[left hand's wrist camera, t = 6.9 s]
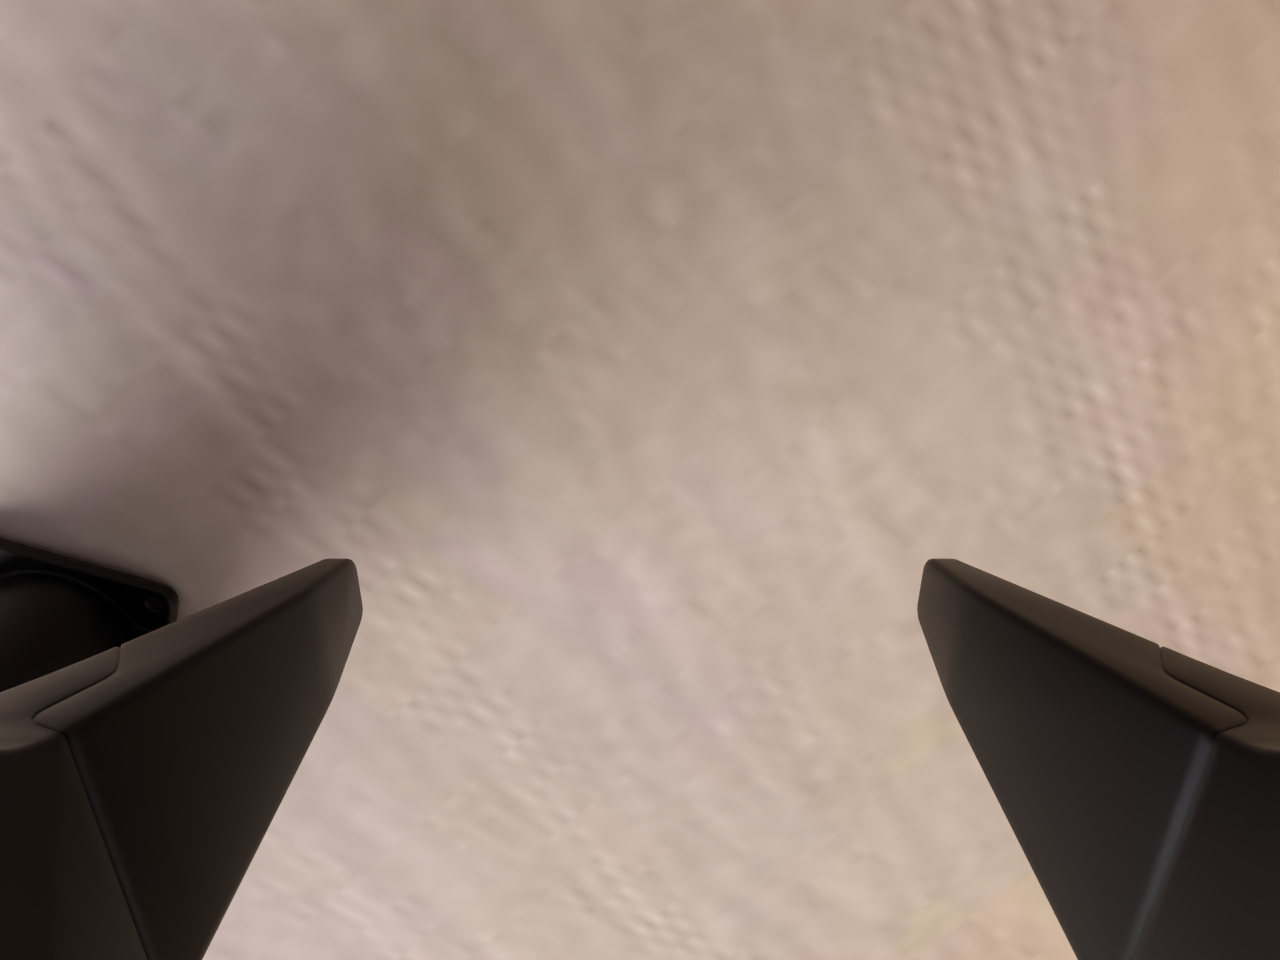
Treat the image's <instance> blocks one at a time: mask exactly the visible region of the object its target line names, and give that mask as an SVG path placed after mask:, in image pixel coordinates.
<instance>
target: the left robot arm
mask: <svg viewBox="0 0 1280 960" xmlns="http://www.w3.org/2000/svg"><path fill="white" fill-rule="evenodd" d="M155 597H156V598H158V599H160V600H161V601H162V603H163V604H161V603H159V602H157V600H156V599H155ZM178 604H179V599H178V595H177V594H176V592H175V591H174V590H173V589H172V588H171V587H169V586H167V585H165V584H161V583H158V582H154V581H151V580H147V579H143V578H140V577H136V576H133V575H129V574H125V573H122V572H118V571H114V570H111V569H107V568H104V567H100V566H96V565H93V564H89V563H85V562H82V561H78V560H75V559H71V558H67V557H64V556H60V555H56V554H53V553H49V552H46V551H42V550H38V549H35V548H31V547H27V546H24V545H20V544H17V543H13V542H9V541H6V540H2V539H0V960H202V959H203V957H204V955H205V953H206V951H207V949H208V947H209V945H210V943H211V941H212V939H213V937H214V935H215V933H216V931H217V929H218V927H219V925H220V923H221V921H222V919H223V917H224V915H225V913H226V911H227V909H228V907H229V905H230V903H231V901H232V899H233V897H234V895H235V893H236V891H237V889H238V887H239V885H240V883H241V881H242V879H243V877H244V875H245V873H246V871H247V869H248V867H249V865H250V863H251V861H252V859H253V857H254V855H255V853H256V851H257V849H258V847H259V845H260V843H261V841H262V839H263V837H264V835H265V833H266V831H267V829H268V827H269V825H270V823H271V821H272V819H273V817H274V815H275V813H276V811H277V809H278V807H279V805H280V803H281V801H282V799H283V797H284V795H285V793H286V791H287V789H288V787H289V785H290V783H291V781H292V779H293V777H294V775H295V773H296V771H297V769H298V767H299V765H300V763H301V761H302V759H303V757H304V755H305V753H306V751H307V749H308V747H309V745H310V743H311V742H312V740H313V738H314V736H315V734H316V732H317V730H318V728H319V726H320V724H321V722H322V720H323V718H324V716H325V714H326V712H327V709H328V707H329V705H330V703H331V701H332V699H333V696H334V694H335V691H336V689H337V686H338V683H339V681H340V678H341V675H342V672H343V669H344V667H345V664H346V661H347V658H348V655H349V653H350V650H351V647H352V644H353V641H354V639H355V636H356V633H357V630H358V627H359V625H360V622H361V618H362V611H363V609H362V600H361V593H360V587H359V581H358V575H357V570H356V566H355V564H354V562H353V561H352V560H350V559H324V560H322V561H319V562H317V563H315V564H312V565H310V566H307V567H305V568H303V569H300V570H298V571H295V572H293V573H291V574H288V575H286V576H284V577H281V578H279V579H276V580H274V581H272V582H269V583H267V584H264V585H262V586H260V587H257V588H255V589H252V590H250V591H248V592H245V593H243V594H241V595H238V596H236V597H233V598H231V599H229V600H226V601H224V602H221V603H219V604H217V605H214V606H212V607H210V608H207V609H205V610H202V611H200V612H198V613H195V614H193V615H190V616H188V617H186V618H183V619H181V620H178V621H177V612H178ZM917 611H918V618H919V622H920V625H921V627H922V630H923V633H924V636H925V639H926V641H927V644H928V647H929V650H930V653H931V655H932V658H933V661H934V664H935V667H936V669H937V672H938V675H939V678H940V681H941V683H942V686H943V689H944V691H945V694H946V696H947V699H948V701H949V703H950V705H951V707H952V709H953V712H954V714H955V716H956V718H957V720H958V722H959V724H960V726H961V728H962V730H963V732H964V734H965V736H966V738H967V740H968V742H969V744H970V746H971V747H972V749H973V751H974V753H975V755H976V757H977V759H978V761H979V763H980V765H981V767H982V769H983V771H984V773H985V775H986V777H987V779H988V781H989V783H990V785H991V787H992V789H993V791H994V793H995V795H996V797H997V799H998V801H999V803H1000V805H1001V807H1002V809H1003V811H1004V813H1005V815H1006V817H1007V819H1008V821H1009V823H1010V825H1011V827H1012V829H1013V831H1014V833H1015V835H1016V837H1017V839H1018V841H1019V843H1020V845H1021V847H1022V849H1023V851H1024V853H1025V855H1026V857H1027V859H1028V861H1029V863H1030V865H1031V867H1032V869H1033V871H1034V873H1035V875H1036V877H1037V879H1038V881H1039V883H1040V885H1041V887H1042V889H1043V891H1044V893H1045V895H1046V897H1047V899H1048V901H1049V903H1050V905H1051V907H1052V909H1053V911H1054V913H1055V915H1056V917H1057V919H1058V921H1059V923H1060V925H1061V927H1062V929H1063V931H1064V933H1065V935H1066V937H1067V939H1068V941H1069V943H1070V945H1071V947H1072V949H1073V951H1074V953H1075V955H1076V957H1077V959H1078V960H1280V692H1277V691H1274V690H1272V689H1269V688H1266V687H1264V686H1261V685H1259V684H1256V683H1253V682H1251V681H1248V680H1245V679H1243V678H1240V677H1238V676H1235V675H1232V674H1230V673H1227V672H1225V671H1222V670H1220V669H1217V668H1215V667H1212V666H1210V665H1207V664H1205V663H1203V662H1200V661H1198V660H1195V659H1193V658H1190V657H1188V656H1185V655H1183V654H1181V653H1178V652H1176V651H1173V650H1171V649H1169V648H1166V647H1161V648H1160V647H1159V645H1158V644H1156V643H1154V642H1152V641H1149V640H1147V639H1144V638H1142V637H1140V636H1137V635H1135V634H1133V633H1130V632H1128V631H1125V630H1123V629H1121V628H1118V627H1116V626H1113V625H1111V624H1109V623H1106V622H1104V621H1102V620H1099V619H1097V618H1094V617H1092V616H1090V615H1087V614H1085V613H1082V612H1080V611H1078V610H1075V609H1073V608H1070V607H1068V606H1066V605H1063V604H1061V603H1059V602H1056V601H1054V600H1051V599H1049V598H1047V597H1044V596H1042V595H1039V594H1037V593H1035V592H1032V591H1030V590H1028V589H1025V588H1023V587H1020V586H1018V585H1016V584H1013V583H1011V582H1008V581H1006V580H1004V579H1001V578H999V577H996V576H994V575H992V574H989V573H987V572H985V571H982V570H980V569H977V568H975V567H973V566H970V565H968V564H965V563H963V562H961V561H958V560H956V559H930V560H928V561H927V562H926V564H925V566H924V570H923V575H922V581H921V587H920V593H919V600H918V609H917Z"/></svg>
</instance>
